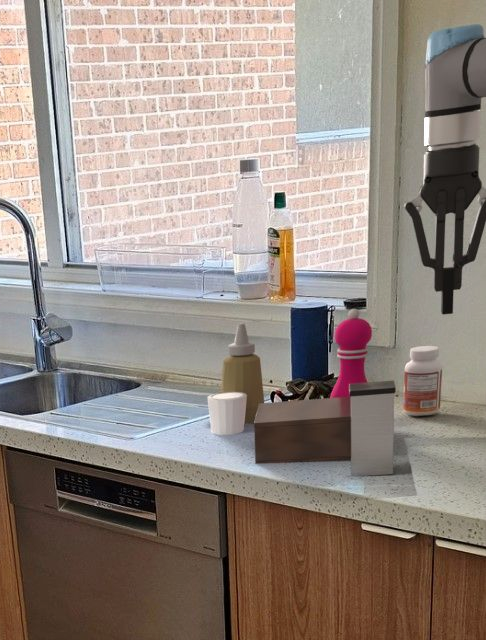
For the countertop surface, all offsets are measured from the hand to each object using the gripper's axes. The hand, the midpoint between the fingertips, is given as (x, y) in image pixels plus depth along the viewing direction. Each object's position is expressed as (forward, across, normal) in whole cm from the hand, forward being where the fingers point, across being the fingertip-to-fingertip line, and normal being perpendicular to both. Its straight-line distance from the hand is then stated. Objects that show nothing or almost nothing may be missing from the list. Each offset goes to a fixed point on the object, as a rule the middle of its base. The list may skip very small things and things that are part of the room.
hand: (446, 312), depth 186 cm
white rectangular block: (+20, +11, +14) cm, 27 cm away
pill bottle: (+21, +2, -23) cm, 31 cm away
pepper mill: (+21, +14, -15) cm, 29 cm away
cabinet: (+20, +21, 0) cm, 29 cm away
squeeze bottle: (+21, +33, -24) cm, 46 cm away
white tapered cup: (+21, +35, -16) cm, 44 cm away
